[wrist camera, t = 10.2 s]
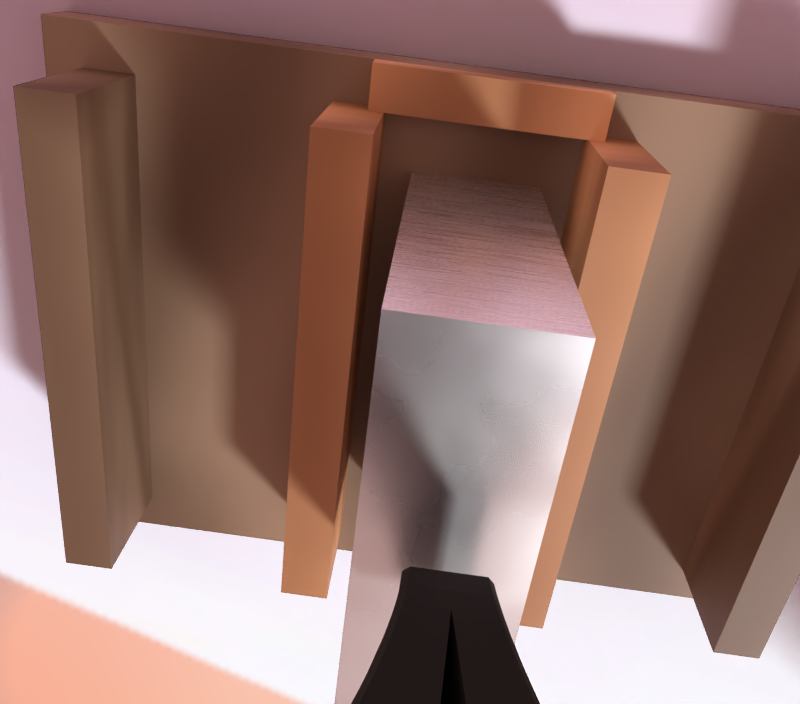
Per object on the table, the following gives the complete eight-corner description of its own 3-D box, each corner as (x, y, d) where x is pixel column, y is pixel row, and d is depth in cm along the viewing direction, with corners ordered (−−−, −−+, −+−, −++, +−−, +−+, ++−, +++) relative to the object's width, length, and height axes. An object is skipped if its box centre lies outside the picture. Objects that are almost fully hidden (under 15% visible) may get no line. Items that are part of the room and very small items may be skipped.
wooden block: (476, 495, 22) (485, 753, 15) (372, 481, 22) (331, 732, 15) (539, 188, 18) (595, 339, 11) (411, 170, 18) (381, 308, 11)
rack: (918, 125, 18) (1043, 168, 14) (728, 576, 24) (778, 688, 20) (65, 11, 18) (-39, 23, 14) (103, 490, 24) (37, 586, 20)
